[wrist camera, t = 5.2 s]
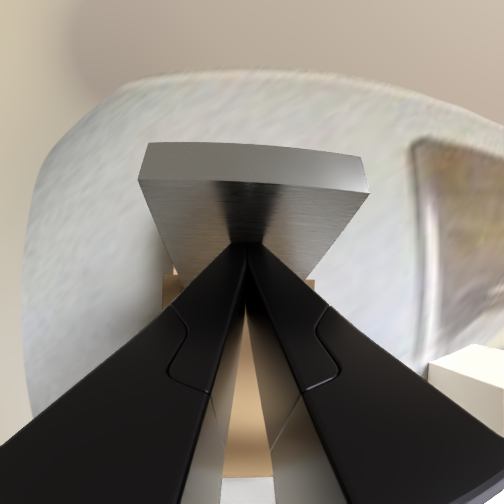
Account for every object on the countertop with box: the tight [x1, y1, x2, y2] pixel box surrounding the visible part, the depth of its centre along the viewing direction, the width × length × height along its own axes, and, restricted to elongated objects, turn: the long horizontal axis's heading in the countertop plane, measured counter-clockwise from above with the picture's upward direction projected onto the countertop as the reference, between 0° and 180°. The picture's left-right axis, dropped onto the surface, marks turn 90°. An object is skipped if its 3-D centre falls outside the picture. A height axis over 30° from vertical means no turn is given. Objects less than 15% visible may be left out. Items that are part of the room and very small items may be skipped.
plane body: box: [162, 267, 315, 477], centre depth 15 cm, size 18×7×5 cm, turn 178°
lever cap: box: [138, 142, 370, 288], centre depth 10 cm, size 2×5×10 cm, turn 88°
